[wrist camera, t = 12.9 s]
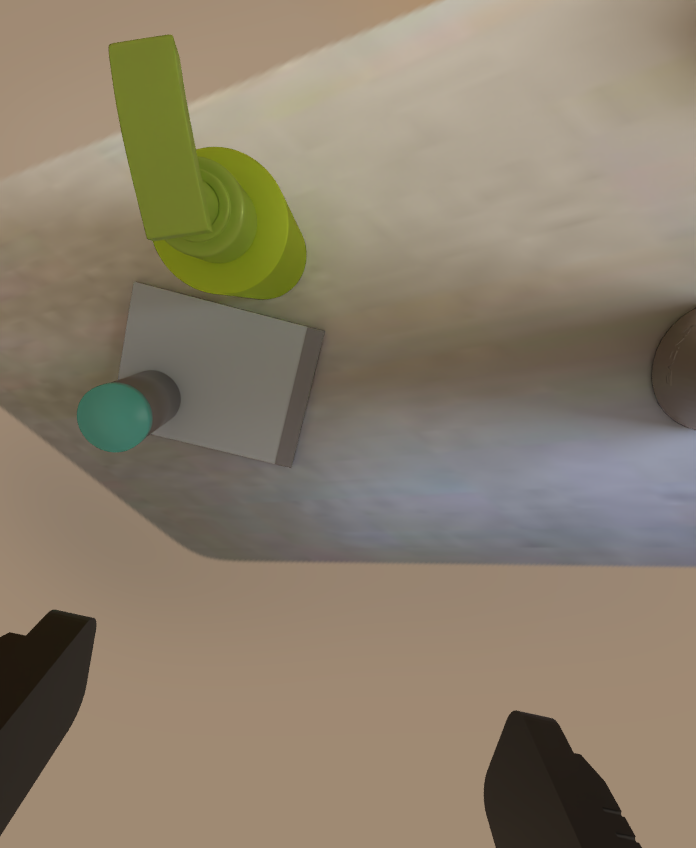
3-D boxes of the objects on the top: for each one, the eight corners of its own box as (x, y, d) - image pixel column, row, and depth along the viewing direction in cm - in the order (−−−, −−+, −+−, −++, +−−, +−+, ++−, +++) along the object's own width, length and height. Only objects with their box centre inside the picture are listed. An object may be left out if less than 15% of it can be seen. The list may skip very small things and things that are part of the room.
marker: (187, 379, 36) (154, 396, 29) (173, 431, 36) (139, 460, 30) (131, 362, 35) (85, 375, 28) (118, 415, 36) (70, 440, 29)
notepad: (324, 331, 36) (324, 331, 35) (291, 465, 38) (291, 468, 37) (137, 282, 35) (133, 281, 34) (114, 422, 37) (110, 424, 36)
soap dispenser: (295, 184, 34) (238, 12, 14) (312, 292, 35) (282, 273, 16) (207, 197, 34) (27, 45, 14) (227, 305, 35) (91, 301, 16)
